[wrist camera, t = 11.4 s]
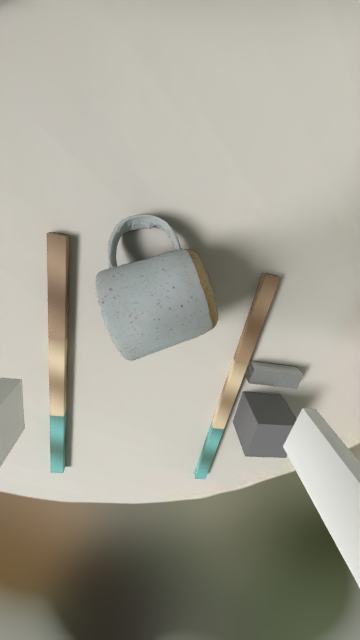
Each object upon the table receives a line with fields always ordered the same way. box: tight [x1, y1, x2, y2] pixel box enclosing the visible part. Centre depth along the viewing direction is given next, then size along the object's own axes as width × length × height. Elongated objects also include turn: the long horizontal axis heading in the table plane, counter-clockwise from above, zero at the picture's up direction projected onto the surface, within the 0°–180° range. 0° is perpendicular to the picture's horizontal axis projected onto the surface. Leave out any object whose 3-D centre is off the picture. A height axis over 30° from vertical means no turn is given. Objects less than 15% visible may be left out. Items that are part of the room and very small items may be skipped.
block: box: [233, 392, 297, 458], centre depth 29 cm, size 5×5×5 cm
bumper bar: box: [245, 361, 303, 389], centre depth 28 cm, size 2×6×2 cm, turn 78°
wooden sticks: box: [47, 232, 280, 479], centre depth 27 cm, size 30×21×1 cm
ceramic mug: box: [96, 214, 218, 361], centre depth 19 cm, size 11×8×8 cm
